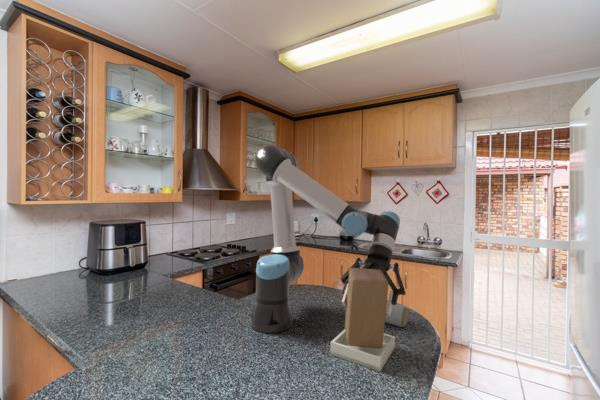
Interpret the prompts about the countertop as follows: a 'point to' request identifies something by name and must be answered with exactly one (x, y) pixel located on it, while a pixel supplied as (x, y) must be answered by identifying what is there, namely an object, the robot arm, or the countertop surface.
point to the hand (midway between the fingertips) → (364, 309)
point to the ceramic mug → (397, 315)
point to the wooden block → (366, 308)
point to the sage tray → (363, 351)
